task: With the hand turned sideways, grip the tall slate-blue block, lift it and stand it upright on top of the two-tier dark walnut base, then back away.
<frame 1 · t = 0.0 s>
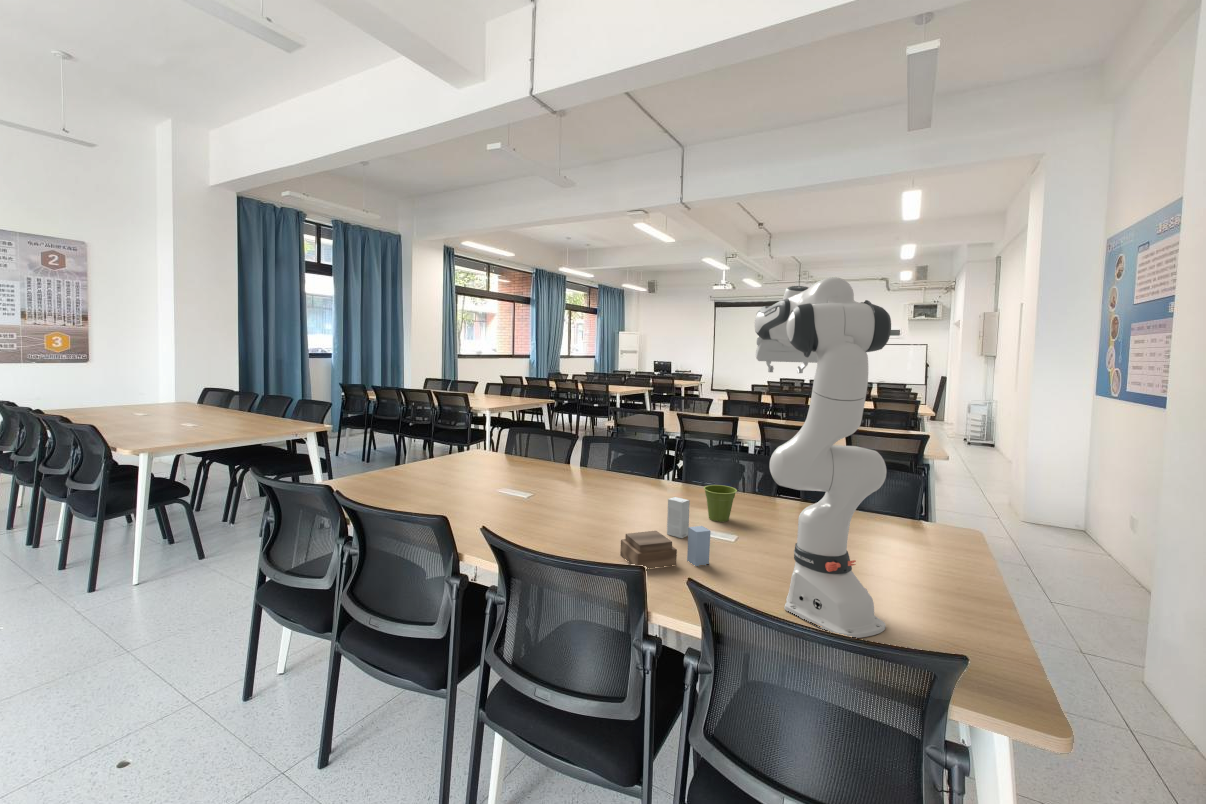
hand: (785, 372, 182), 54 cm above the table, tool tilted 30°, fingers open, 8 cm apart
walnut block: (647, 561, 157), on the table
plant pot: (718, 519, 198), on the table
skincare box: (677, 535, 180), on the table
slate block: (697, 562, 156), on the table
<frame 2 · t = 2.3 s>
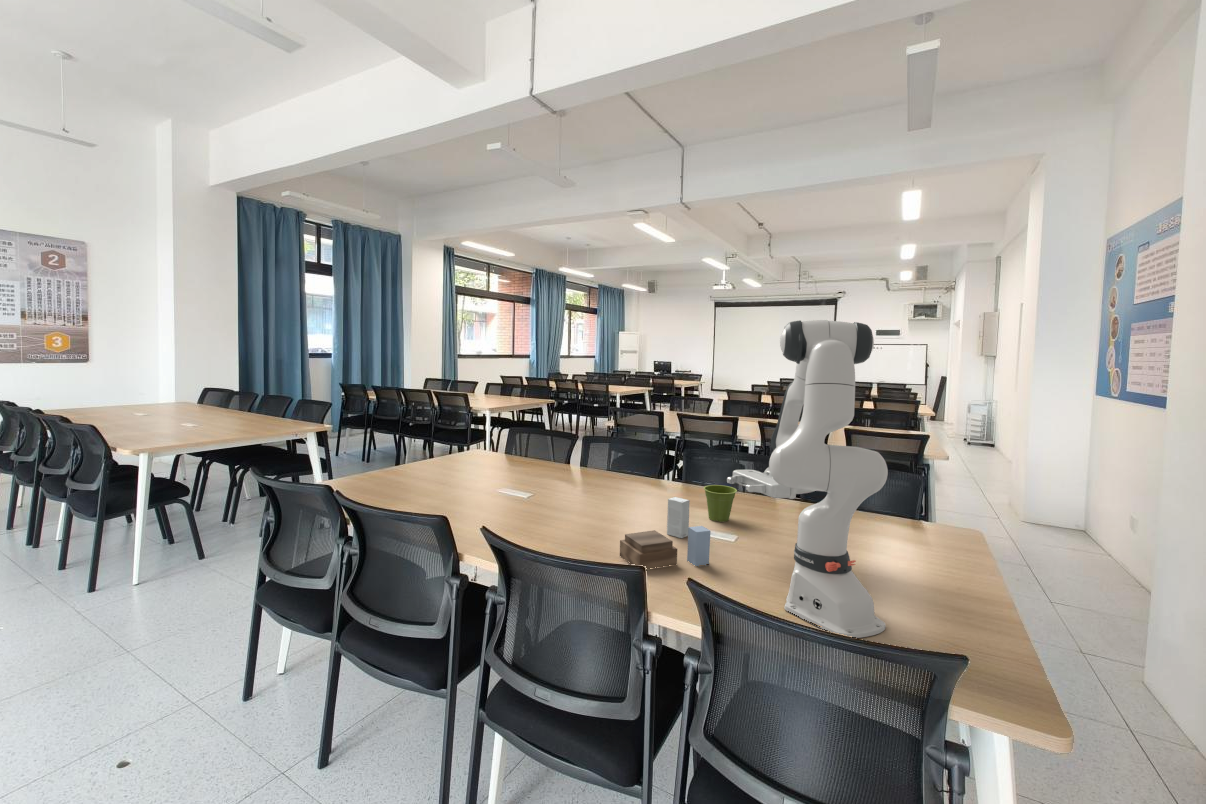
hand: (737, 484, 158), 22 cm above the table, tool horizontal, fingers open, 8 cm apart
nothing on the table moved.
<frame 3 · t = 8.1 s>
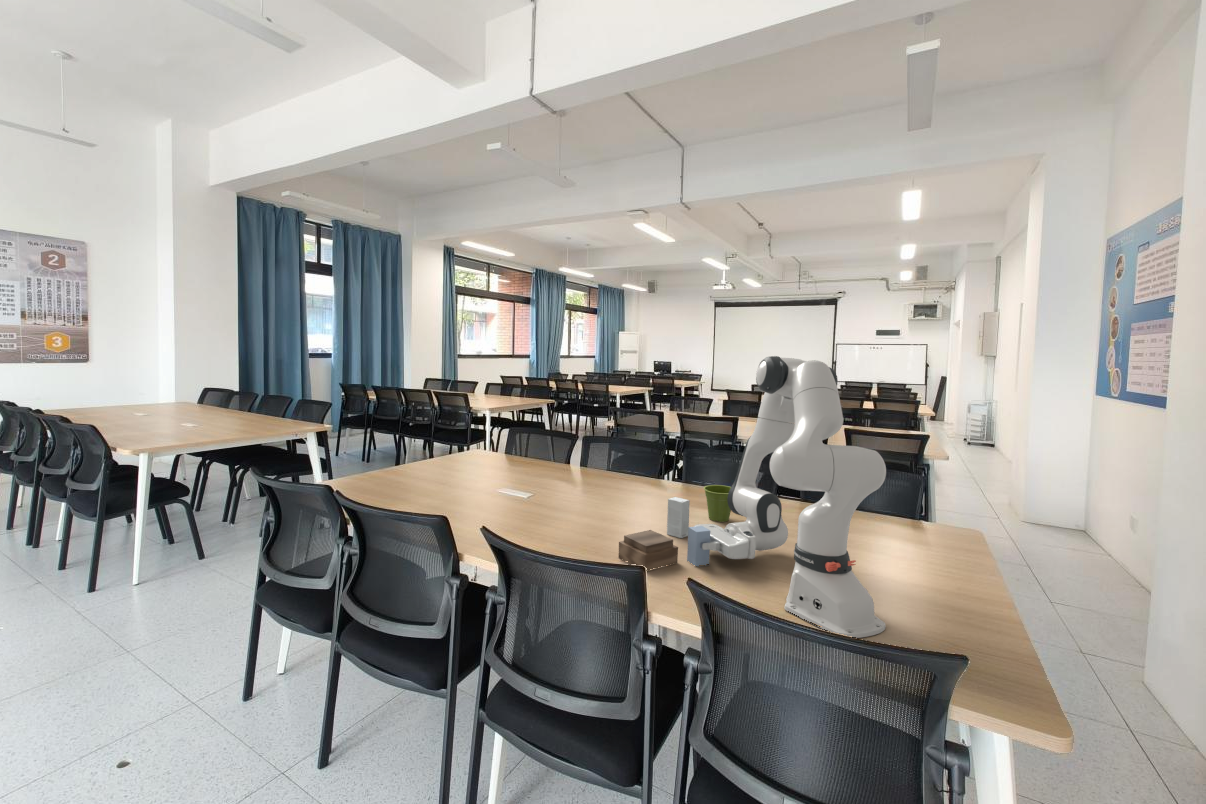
hand: (696, 542, 155), 6 cm above the table, tool horizontal, fingers closed on slate block, 4 cm apart
slate block: (697, 562, 156), on the table, touching gripper
when the fingers open (14 cm above the table, at t = 14.7 s): slate block drops 2 cm, resting on walnut block.
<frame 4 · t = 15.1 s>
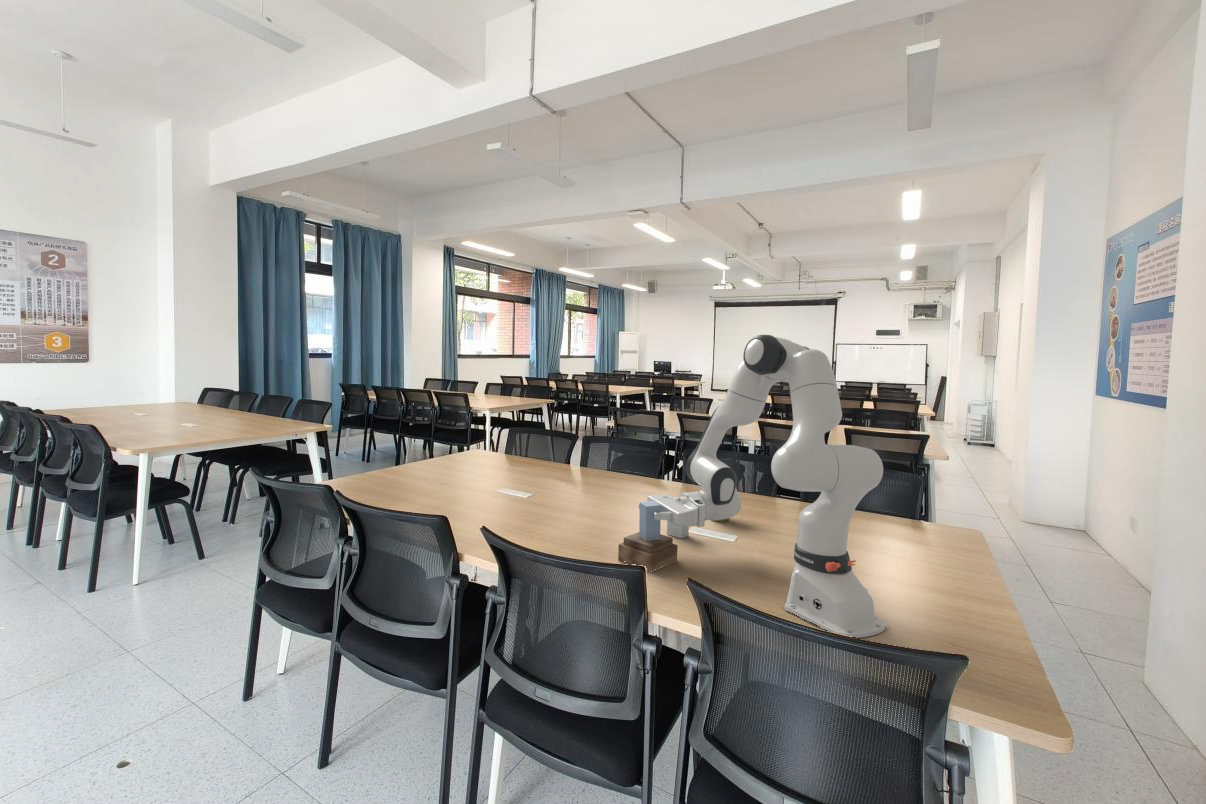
hand: (646, 511, 155), 14 cm above the table, tool horizontal, fingers open, 8 cm apart
walnut block: (647, 561, 157), on the table, touching slate block
slate block: (649, 537, 156), point 7 cm above the table, touching walnut block
everything else where it was.
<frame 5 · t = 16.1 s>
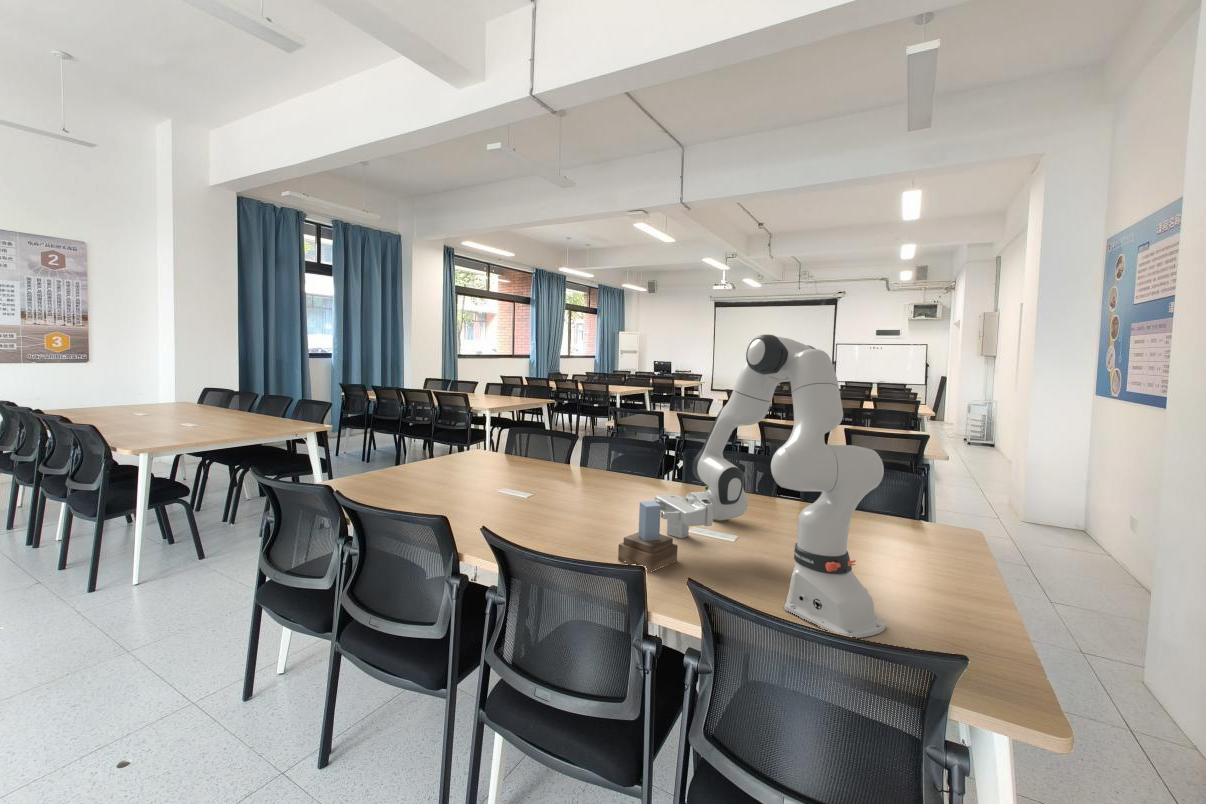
hand: (654, 510, 156), 14 cm above the table, tool horizontal, fingers open, 8 cm apart
walnut block: (647, 561, 157), on the table
slate block: (648, 537, 156), point 7 cm above the table
everything else where it was.
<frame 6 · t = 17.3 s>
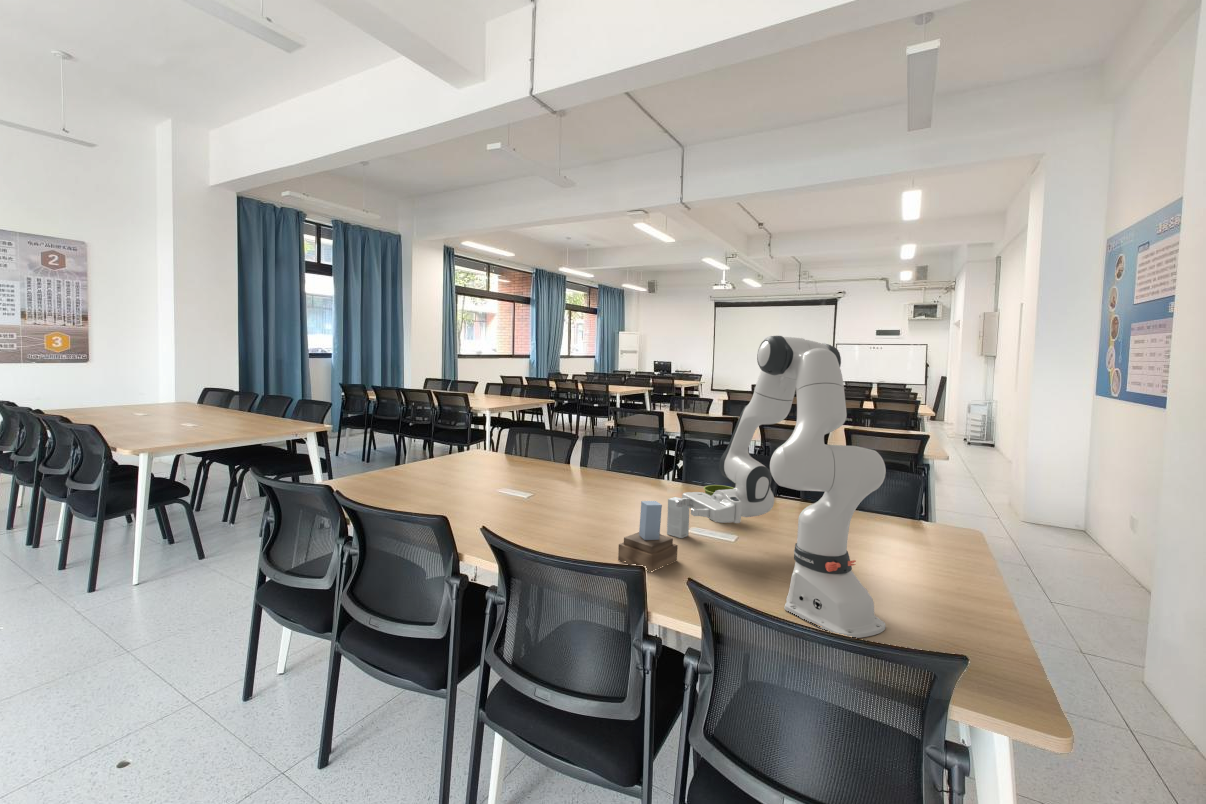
hand: (683, 508, 160), 14 cm above the table, tool horizontal, fingers open, 8 cm apart
nothing on the table moved.
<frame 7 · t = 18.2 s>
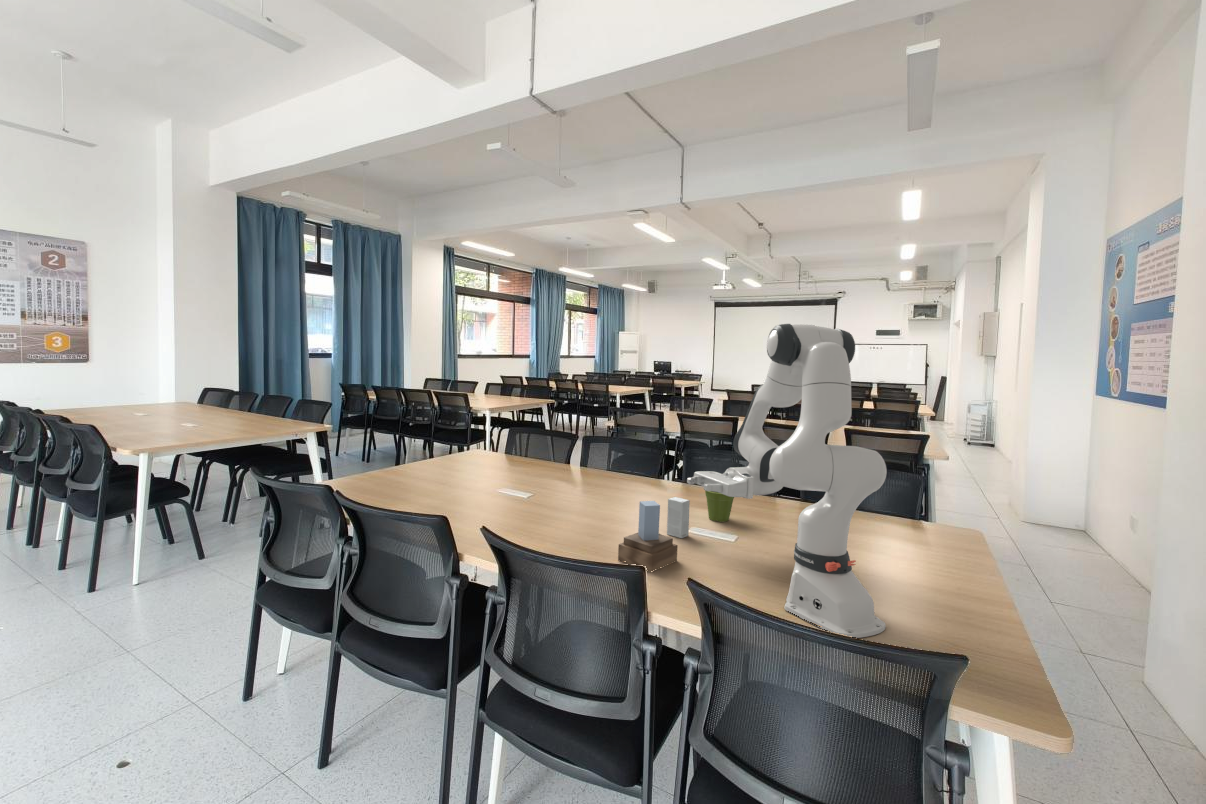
hand: (696, 484, 161), 21 cm above the table, tool horizontal, fingers open, 8 cm apart
walnut block: (647, 561, 157), on the table, touching slate block
slate block: (648, 537, 157), point 7 cm above the table, touching walnut block
everything else where it was.
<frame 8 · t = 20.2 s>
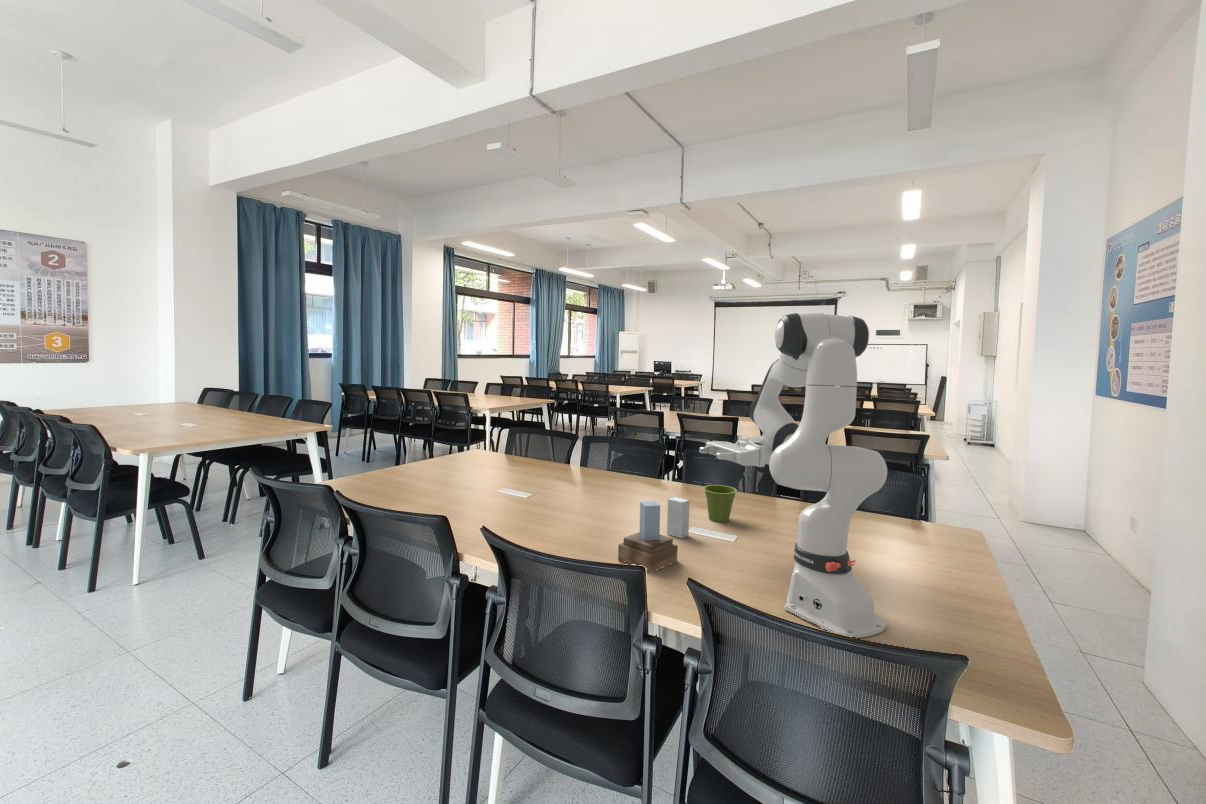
hand: (708, 453, 163), 30 cm above the table, tool horizontal, fingers open, 8 cm apart
nothing on the table moved.
at the end: slate block inside the target area on the walnut block (0.4 cm from its centre), point 7.0 cm above the walnut block's base; slate block tilted 1°; the gripper is holding nothing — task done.
